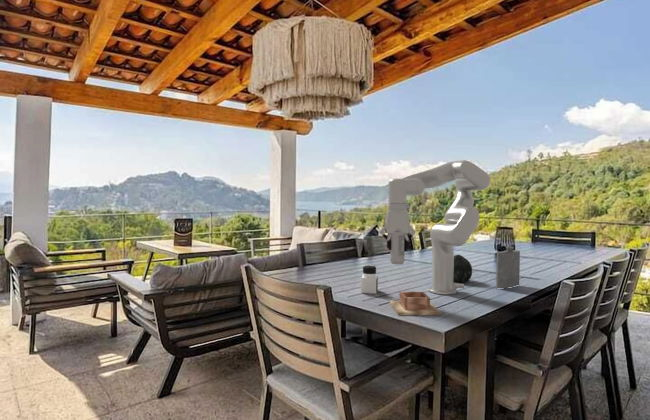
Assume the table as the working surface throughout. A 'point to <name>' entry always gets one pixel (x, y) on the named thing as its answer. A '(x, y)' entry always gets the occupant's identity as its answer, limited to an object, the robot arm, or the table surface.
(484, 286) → the table surface
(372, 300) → the table surface
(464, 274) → the squash
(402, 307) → the can sleeve stand
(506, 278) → the grey tall flat block
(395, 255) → the energy drink can
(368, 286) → the medicine bottle
